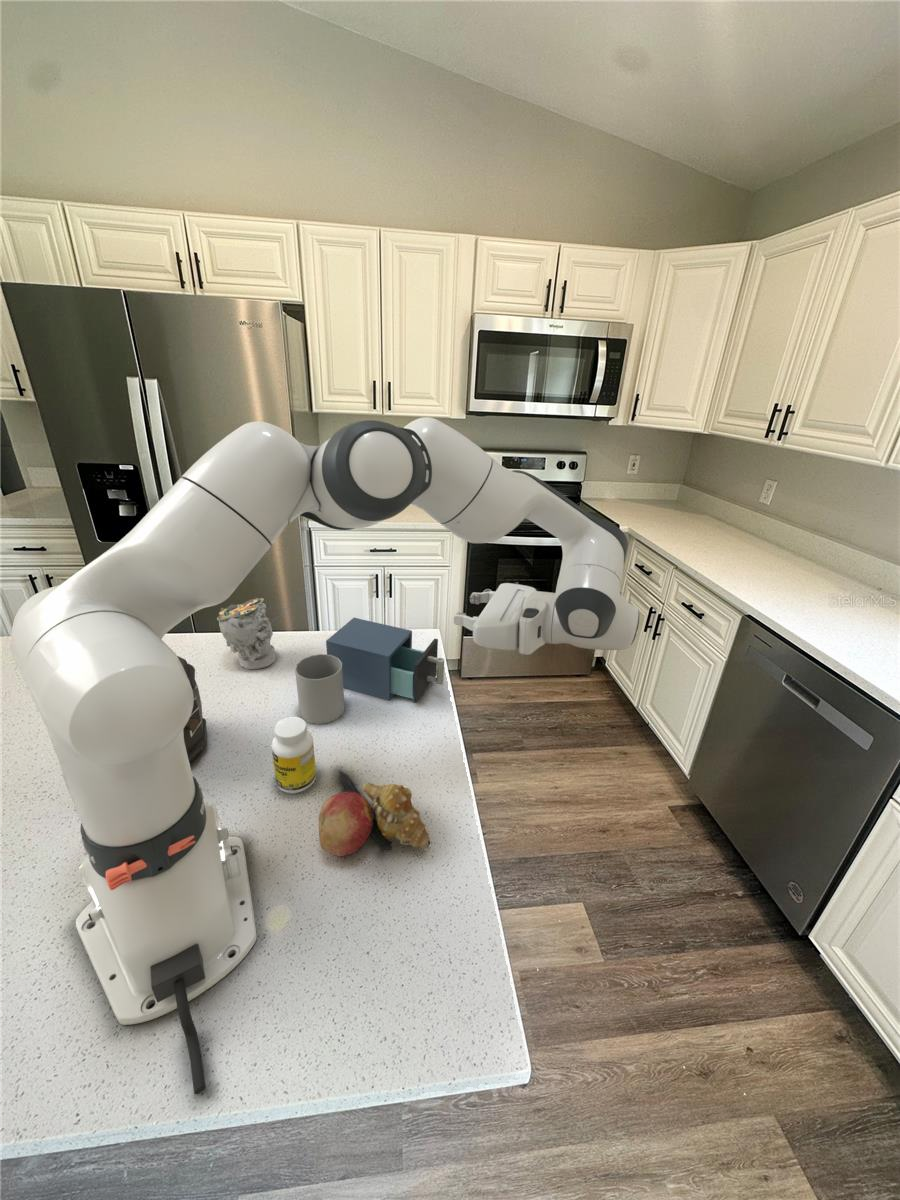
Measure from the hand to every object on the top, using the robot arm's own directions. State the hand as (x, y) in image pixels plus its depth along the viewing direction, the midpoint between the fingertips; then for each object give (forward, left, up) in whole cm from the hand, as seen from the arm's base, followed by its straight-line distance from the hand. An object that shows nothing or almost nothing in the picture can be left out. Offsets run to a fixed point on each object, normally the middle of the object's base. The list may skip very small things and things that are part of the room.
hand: (463, 607), depth 90 cm
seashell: (-14, +29, -20) cm, 38 cm away
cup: (+13, +23, -22) cm, 34 cm away
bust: (+41, +20, -22) cm, 51 cm away
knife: (-12, +29, -21) cm, 38 cm away
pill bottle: (-1, +34, -22) cm, 40 cm away
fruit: (-12, +31, -18) cm, 38 cm away
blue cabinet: (+17, +10, -21) cm, 29 cm away
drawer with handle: (+10, +6, -21) cm, 24 cm away
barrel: (+18, +51, -22) cm, 58 cm away
